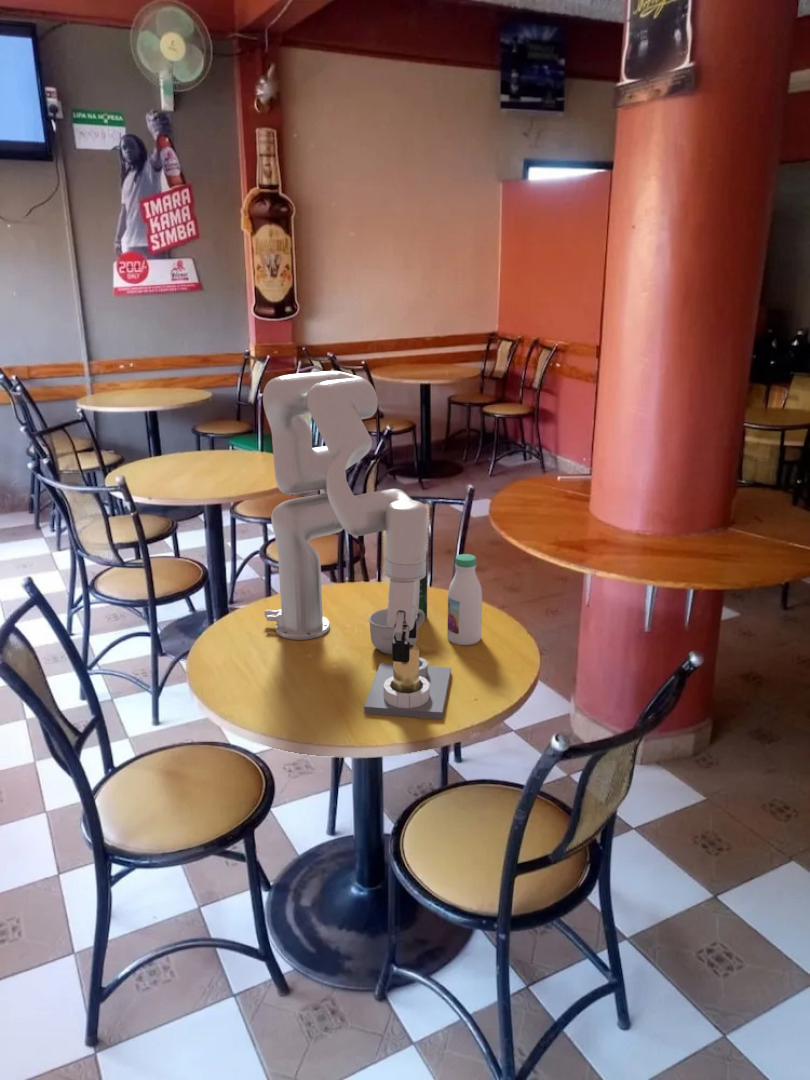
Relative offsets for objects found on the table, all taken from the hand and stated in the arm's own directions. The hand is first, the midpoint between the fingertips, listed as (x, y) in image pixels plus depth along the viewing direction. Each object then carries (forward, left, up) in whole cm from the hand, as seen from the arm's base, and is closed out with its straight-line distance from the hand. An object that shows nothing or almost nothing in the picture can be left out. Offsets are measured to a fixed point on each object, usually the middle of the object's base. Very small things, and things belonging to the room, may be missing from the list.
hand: (404, 648), depth 157 cm
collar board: (0, +4, -12) cm, 12 cm away
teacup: (-5, +24, -12) cm, 27 cm away
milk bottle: (+9, +30, -12) cm, 33 cm away
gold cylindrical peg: (0, 0, -10) cm, 10 cm away
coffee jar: (-5, +41, -12) cm, 42 cm away
